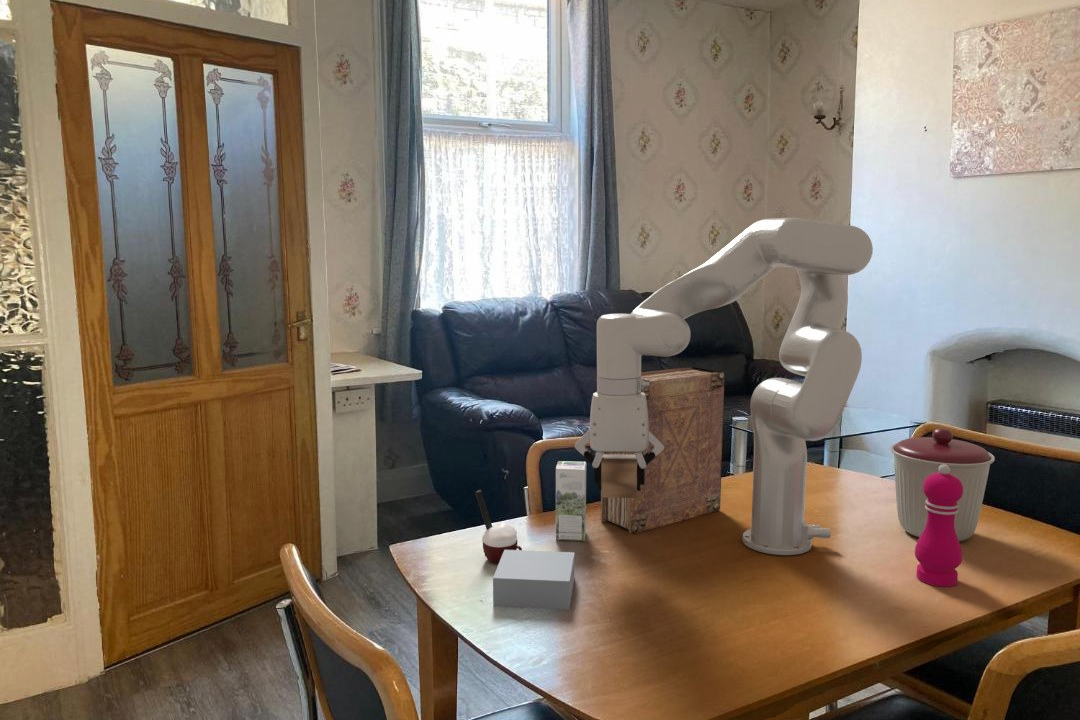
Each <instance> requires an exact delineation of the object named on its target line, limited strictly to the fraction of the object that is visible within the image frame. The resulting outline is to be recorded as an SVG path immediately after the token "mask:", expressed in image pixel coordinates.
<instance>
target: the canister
mask: <svg viewBox="0 0 1080 720" xmlns="http://www.w3.org/2000/svg"><path fill="white" fill-rule="evenodd" d="M931 435H932V436H931V437H927V436H925V437H924V436H922V437H920V436H919V437H911V438H910V437H909V438H905V439H902V440H900V441H898V442H896V443H894V444H892V445H891V446H890V448H889V449H890V452H891V453H892V454H893V465H894V466H893V468H894V481H895V482H894V487H895V498H896V499H895V500H896V509H897V510H896V512H897V517H898V522H899V524H900V526H901V528H902V529H903V530H904V531H905V532H906V533H908V534H910V535H912V536H914V537H917V538H918V539H919V538H920V536H921V534H922V533H923V531H924V529H925V526H926V523H927V517H928V514H927V510H926V509H925V506H926V503H925V501H926V500H927V499H928V498H927V497H926V495H925V494H924V491H923V484H924V481H925V480H926V478H927V477H928V476H930V475H931V474H934V473H939V470H938V468H939V466H940V465H943V464H945V465H948V466H949V468H950V473H949V474H951V475H953V476H955V477H957V478H958V479H959V480H960V481H961V483H962V486H963V495H962V497H961V498H960V499H959V500H958V501H957V503H958V505H959V507H958V513H956V514H955V519H954V524H955V532H956V535H957V538H958V541H959V542H963V541H967V540H968V539H969V538H971V537H972V536H973V535H974V533H975V531H976V529H977V526H978V523H979V519H980V515H981V510H982V505H983V502H984V501H983V500H984V497H985V491H986V486H987V482H988V478H989V471H990V467H991V465H992V464H993V463H994V461H996V460H995V459H996V458H995V456H994V455H993V454H992V453H991V452H989V451H987V450H986V449H985V448H983V447H982V446H979V445H977V444H974V443H972V442H968V441H964V440H959V439H953V437H954V435H953V432H952V431H951V430H950V429H948V428H944V427H939V428H936V429H934V430H933V431H932V433H931Z"/></svg>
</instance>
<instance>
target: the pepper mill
mask: <svg viewBox="0 0 1080 720" xmlns="http://www.w3.org/2000/svg"><path fill="white" fill-rule="evenodd" d="M938 470H939V473H934V474H931V475H930V476H928V477H927V478H926V480H925V481H924V484H923V491H924V494H925V495H926V497H927V498H928V499H927V500H926V501H925V503H926V506H925V509H926V510H927V514H928V517H927V523H926V526H925V529H924V531H923V533H922V534H921V536H920V538H919V537H918V539H917V541H916V544H915V547H914V557H915V559H916V560H917V561H918V562H919V564H917V566H916V577H917V579H918V580H919V581H920V582H922V583H925V584H928V585H931V586H936V587H943V588H944V587H945V588H946V587H954V586H955V585H957V583H958V581H959V580H958V577H959V576H958V575H959V572H958V571H957V568H958V567H959V566H961V564H962V562H963V550H962V547H961V544H960V541H958V538H957V535H956V532H955V524H954V519H955V514H956V513H958V507H959V505H958V503H957V501H958V500H959V499H960V498H961V497H962V495H963V486H962V483H961V481H960V480H959V479H958V478H957V477H955V476H953V475H951V474H949V473H950V468H949V466H948V465H945V464H943V465H940V466H939V468H938Z"/></svg>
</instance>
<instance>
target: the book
mask: <svg viewBox="0 0 1080 720" xmlns="http://www.w3.org/2000/svg"><path fill="white" fill-rule="evenodd" d="M725 375H726V374H725V372H723V371H719V370H717V371H716V370H712V369H707V368H706V369H705V368H701V367H694V366H690V367H680V368H673V369H672V368H671V369H663V370H655V371H646V372H645V371H644V372H641V378H643V379H645V380H650V388H643V390H641V392H643V393H645V395H646V400H647V408H648V421H649V430H650V431H651V432H652V433H653V434H654V435H655V436H656V437H657V438H658V439H659V440H660V441H661V442H662V443H663V444H664V449H663V450H662V451H661V452H660V453H659V454H658V455H657V456H655V458H654V459H653V460H652V461H651V462H650V463H649V464H648V465H647V466H646V467H645V485H641V491H638V490H637V498H602V490H600V521H601V522H602V523H605V522H611V523H613V524H615V525H618V526H620V527H622V528H624V529H626V530H628V533H629V534H631V535H634V534H637V533H641V532H644V531H648V530H652V529H657V528H660V527H663V526H668V525H670V524H675V523H678V522H681V521H682V520H683V521H685V520H689V519H693V518H696V517H698V518H699V517H700V516H703V515H704V516H705V515H708V514H712V513H716V512H719V511H721V499H722V498H721V496H722V495H721V493H722V468H723V467H722V463H723V462H722V460H723V436H724V435H723V433H724V430H723V429H724V403H725V402H724V400H725V399H724V398H725V397H724V395H725ZM653 447H654V445H653V444H652V443H651V442H650V441H649V444H648V449H647V450H646V451H644V452H643V454H644V455H645V454H646V453H647V452H648V451H650V450H651V449H652V448H653ZM604 454H624V455H635V454H634V453H608V452H604ZM637 462H638V461H637Z"/></svg>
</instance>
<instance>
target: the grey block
mask: <svg viewBox="0 0 1080 720" xmlns="http://www.w3.org/2000/svg"><path fill="white" fill-rule="evenodd" d="M575 563H576V562H575V552H574V551H573V552H572V551H548V550H546V551H545V550H523V549H522V550H519V549H517V550H504V552H503V555H502V557H501V559H500V562H499V564H497V567H496V569H495V572H494V574H493V577H492V595H493V596H492V601H493V602H492V604H493V605H492V606H493V607H499V608H502V607H503V608H518V609H519V608H522V609H526V608H527V609H545V610H565V611H566V610H568V611H570V610H571V609H570V608H571V603H572V596H573V589H574V583H575V570H576V569H575V568H576V567H575Z"/></svg>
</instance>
